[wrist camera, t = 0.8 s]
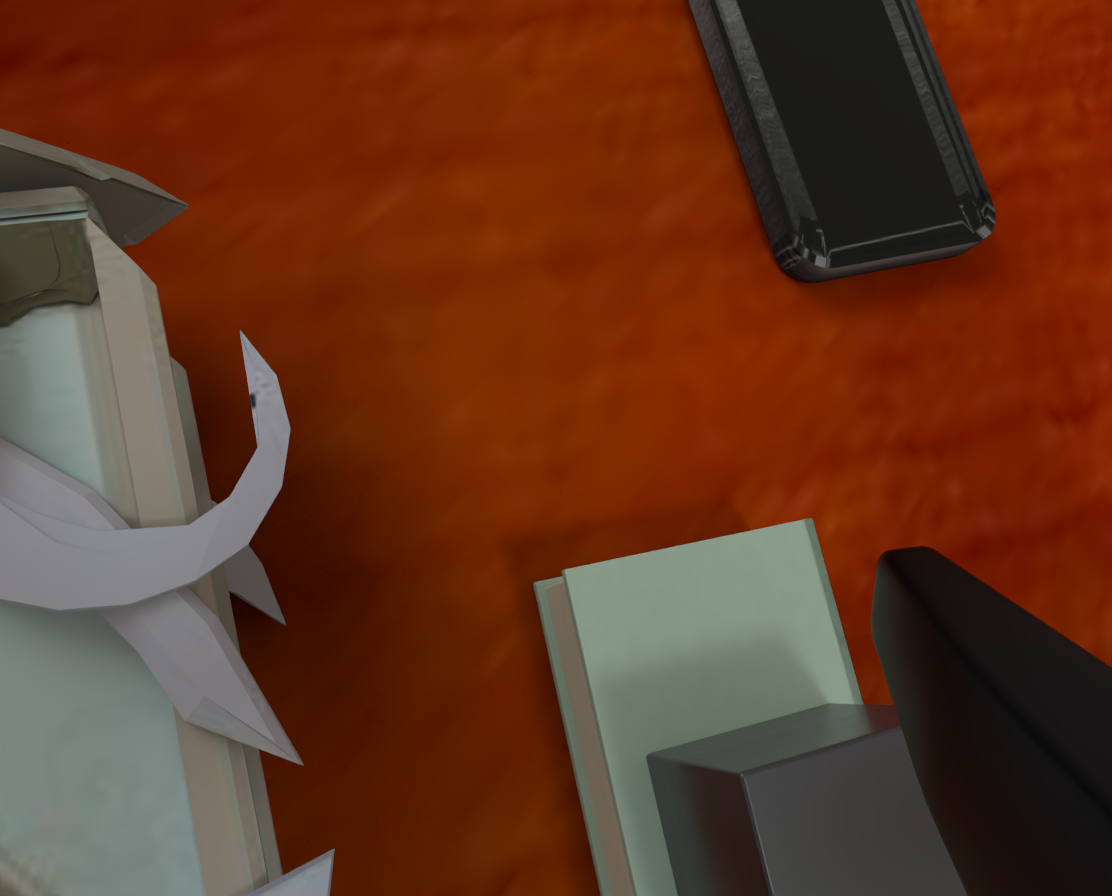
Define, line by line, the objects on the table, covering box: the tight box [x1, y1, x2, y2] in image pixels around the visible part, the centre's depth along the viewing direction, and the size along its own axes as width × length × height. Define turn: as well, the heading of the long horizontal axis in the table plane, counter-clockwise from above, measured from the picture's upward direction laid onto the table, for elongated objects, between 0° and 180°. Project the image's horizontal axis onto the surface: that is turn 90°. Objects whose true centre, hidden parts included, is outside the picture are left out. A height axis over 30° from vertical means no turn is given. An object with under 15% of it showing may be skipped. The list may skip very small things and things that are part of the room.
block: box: [646, 703, 967, 896], centre depth 20 cm, size 5×5×5 cm
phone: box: [688, 0, 996, 282], centre depth 31 cm, size 8×1×15 cm
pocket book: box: [533, 518, 863, 896], centre depth 23 cm, size 14×7×3 cm, turn 13°
